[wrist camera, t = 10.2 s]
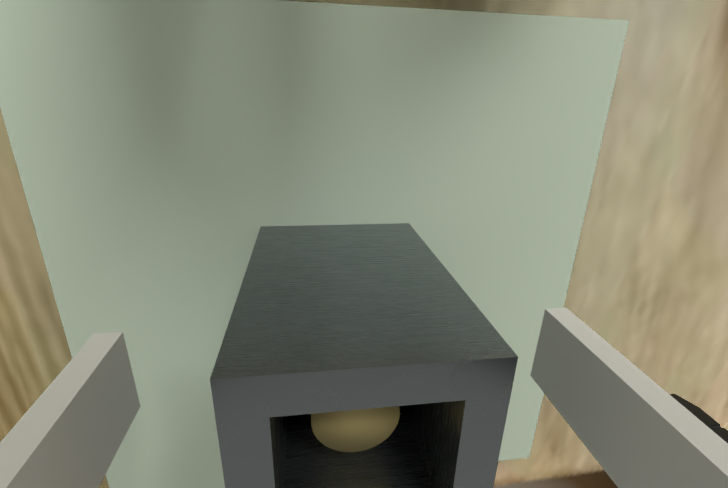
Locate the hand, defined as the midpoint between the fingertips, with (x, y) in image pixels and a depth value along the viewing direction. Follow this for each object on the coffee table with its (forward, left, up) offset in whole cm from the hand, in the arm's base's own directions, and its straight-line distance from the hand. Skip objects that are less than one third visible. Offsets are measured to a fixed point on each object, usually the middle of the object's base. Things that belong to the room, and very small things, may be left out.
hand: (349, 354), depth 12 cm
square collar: (+3, 0, -5) cm, 6 cm away
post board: (0, 0, -6) cm, 6 cm away
